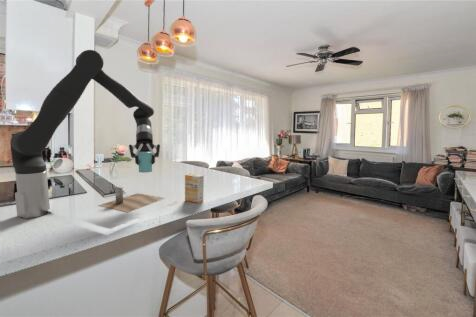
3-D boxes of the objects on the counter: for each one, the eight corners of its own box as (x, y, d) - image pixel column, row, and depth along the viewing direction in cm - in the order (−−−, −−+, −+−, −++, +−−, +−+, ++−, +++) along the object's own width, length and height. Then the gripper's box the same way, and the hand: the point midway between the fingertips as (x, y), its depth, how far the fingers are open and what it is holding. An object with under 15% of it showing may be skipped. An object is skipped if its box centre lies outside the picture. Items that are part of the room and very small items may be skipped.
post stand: (127, 216, 94) (126, 195, 93) (97, 208, 101) (96, 189, 100) (165, 201, 114) (164, 184, 113) (137, 195, 121) (137, 179, 120)
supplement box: (184, 200, 115) (184, 174, 114) (190, 198, 120) (190, 173, 118) (197, 203, 111) (197, 176, 110) (203, 200, 116) (203, 174, 114)
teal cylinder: (145, 173, 104) (144, 153, 103) (135, 171, 106) (134, 152, 105) (155, 170, 109) (154, 151, 108) (145, 169, 112) (145, 150, 110)
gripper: (127, 130, 109) (127, 159, 100) (160, 130, 115) (162, 158, 105) (128, 141, 115) (128, 169, 106) (159, 140, 120) (161, 167, 111)
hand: (145, 163), depth 106 cm, fingers closed on teal cylinder, 5 cm apart
